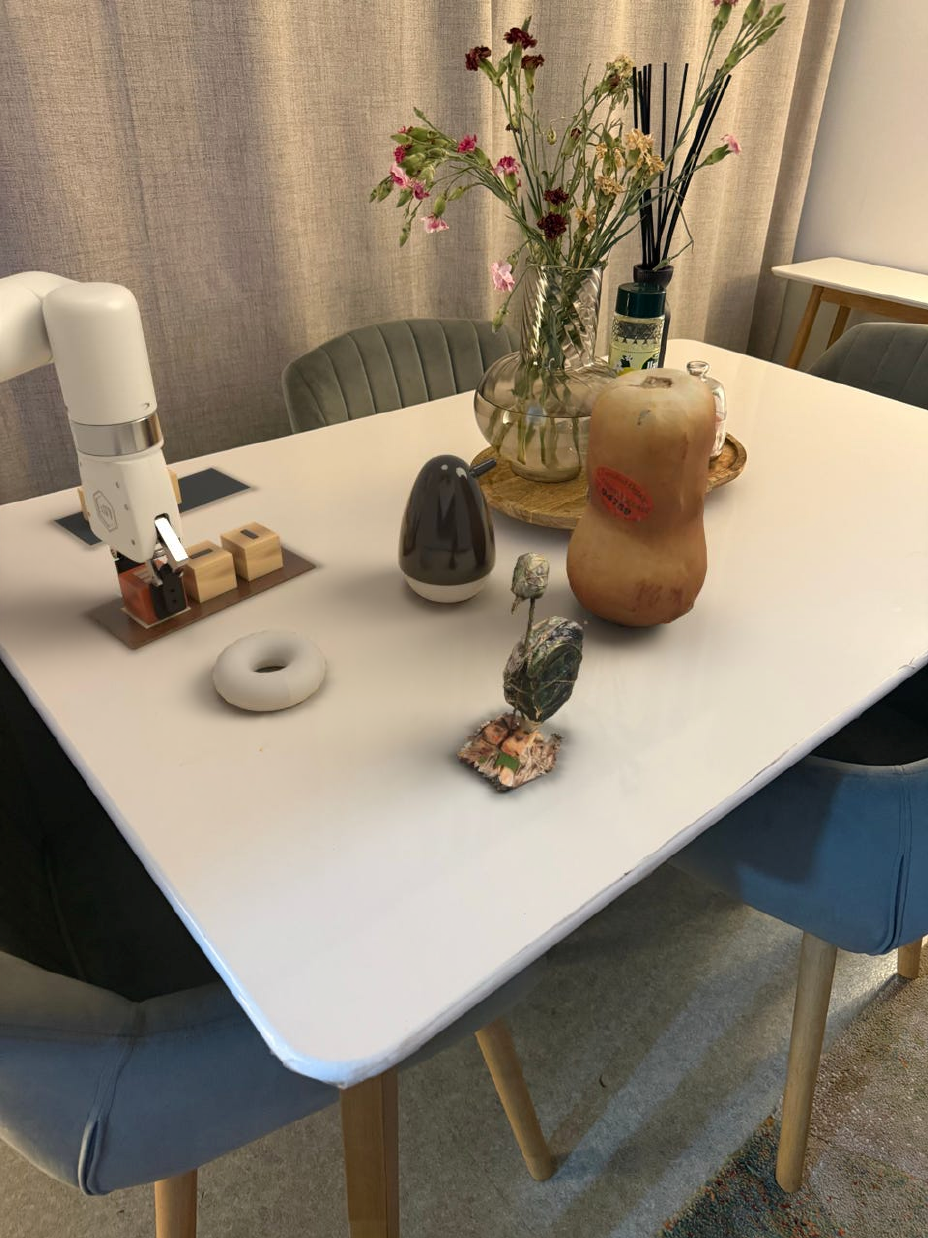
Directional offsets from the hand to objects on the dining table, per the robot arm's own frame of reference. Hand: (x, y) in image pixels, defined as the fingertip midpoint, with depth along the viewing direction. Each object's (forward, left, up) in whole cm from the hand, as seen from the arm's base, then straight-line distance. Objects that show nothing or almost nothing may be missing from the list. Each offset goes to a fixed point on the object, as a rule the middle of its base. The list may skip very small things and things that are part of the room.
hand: (154, 600), depth 89 cm
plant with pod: (+40, +10, -2) cm, 41 cm away
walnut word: (0, +6, -2) cm, 6 cm away
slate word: (-22, +13, -2) cm, 26 cm away
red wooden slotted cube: (0, 0, -1) cm, 1 cm away
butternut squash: (+35, +33, -2) cm, 48 cm away
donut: (+18, +1, -2) cm, 18 cm away
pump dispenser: (+18, +24, -2) cm, 30 cm away
